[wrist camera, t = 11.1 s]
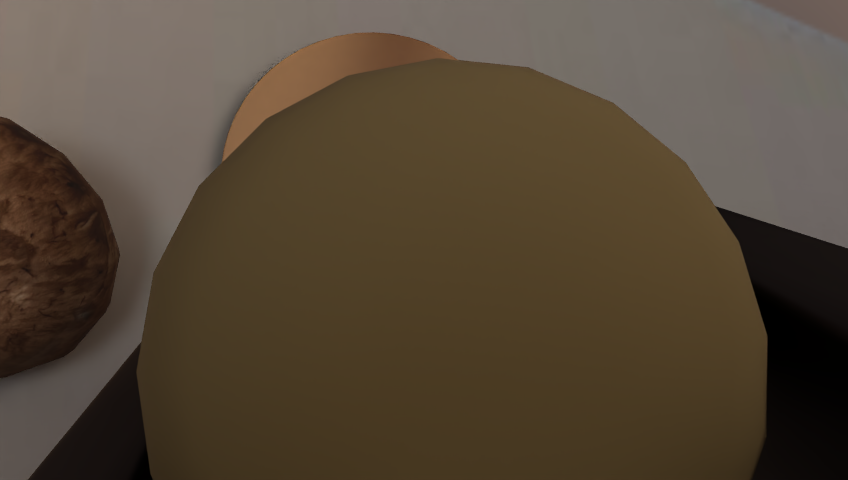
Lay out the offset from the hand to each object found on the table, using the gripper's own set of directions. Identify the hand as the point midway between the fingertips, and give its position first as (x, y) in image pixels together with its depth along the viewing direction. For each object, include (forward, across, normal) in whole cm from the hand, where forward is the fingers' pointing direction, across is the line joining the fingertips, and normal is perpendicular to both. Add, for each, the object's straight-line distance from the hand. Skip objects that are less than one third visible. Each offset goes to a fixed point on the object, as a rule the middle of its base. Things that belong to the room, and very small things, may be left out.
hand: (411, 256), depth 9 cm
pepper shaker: (+4, 0, +6) cm, 7 cm away
